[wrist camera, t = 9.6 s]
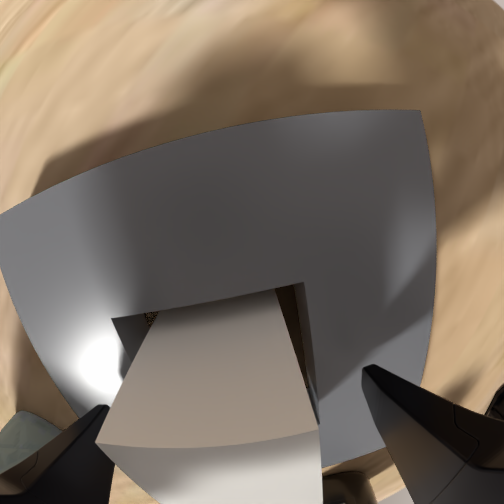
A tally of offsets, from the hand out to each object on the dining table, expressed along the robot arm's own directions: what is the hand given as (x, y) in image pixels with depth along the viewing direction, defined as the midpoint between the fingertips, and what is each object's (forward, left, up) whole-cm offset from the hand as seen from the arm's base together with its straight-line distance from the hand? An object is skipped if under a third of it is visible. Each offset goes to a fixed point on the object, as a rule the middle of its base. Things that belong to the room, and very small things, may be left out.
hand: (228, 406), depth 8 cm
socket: (0, 0, -4) cm, 4 cm away
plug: (0, 0, -4) cm, 4 cm away
